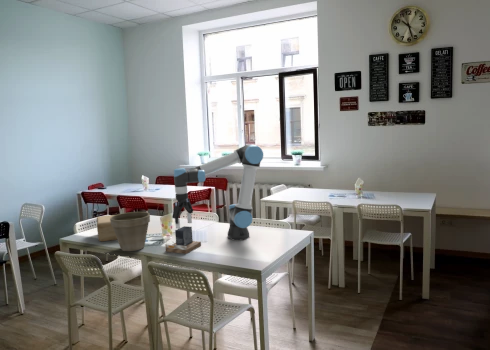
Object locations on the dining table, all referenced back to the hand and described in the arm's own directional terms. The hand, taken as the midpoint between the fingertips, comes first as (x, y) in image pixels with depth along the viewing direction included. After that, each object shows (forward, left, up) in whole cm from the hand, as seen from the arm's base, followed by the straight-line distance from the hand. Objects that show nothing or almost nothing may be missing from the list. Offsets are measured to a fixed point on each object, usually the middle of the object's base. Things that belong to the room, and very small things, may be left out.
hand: (184, 225), depth 264 cm
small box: (0, 0, -12) cm, 12 cm away
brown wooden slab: (0, +1, -15) cm, 15 cm away
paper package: (+65, -10, -15) cm, 68 cm away
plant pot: (+33, +11, -15) cm, 38 cm away
